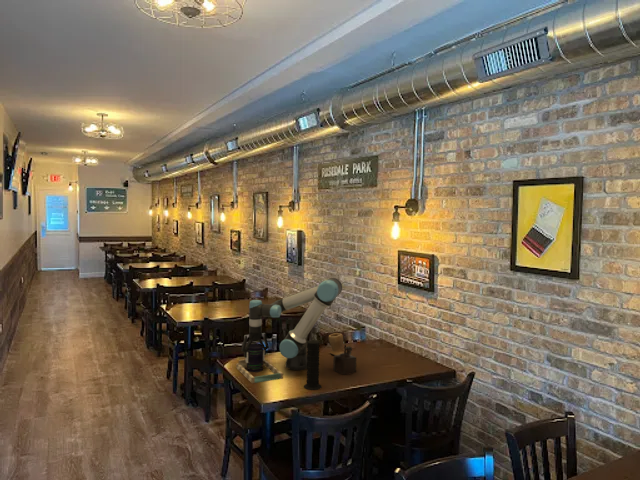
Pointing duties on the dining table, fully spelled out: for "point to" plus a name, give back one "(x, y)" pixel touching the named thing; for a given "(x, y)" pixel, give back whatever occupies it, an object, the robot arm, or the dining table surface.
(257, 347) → the storage jar
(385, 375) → the dining table surface
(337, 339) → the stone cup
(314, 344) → the handle grip
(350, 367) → the dark boxy piece
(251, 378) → the shallow rimmed tray
